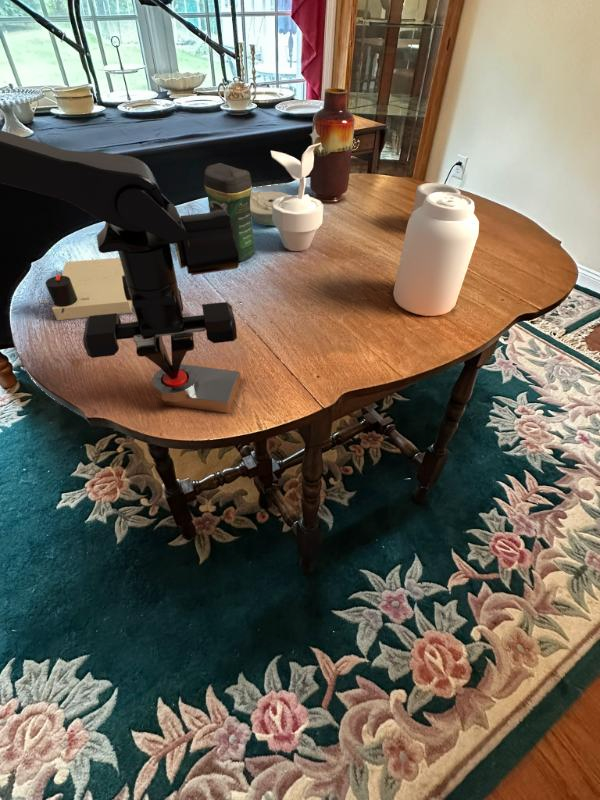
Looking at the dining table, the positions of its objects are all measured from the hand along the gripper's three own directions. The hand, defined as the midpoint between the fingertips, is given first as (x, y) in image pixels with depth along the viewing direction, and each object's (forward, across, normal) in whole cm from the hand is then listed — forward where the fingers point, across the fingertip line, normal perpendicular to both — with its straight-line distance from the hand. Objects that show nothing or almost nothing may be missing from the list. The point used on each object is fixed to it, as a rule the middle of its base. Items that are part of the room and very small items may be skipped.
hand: (174, 376), depth 63 cm
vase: (+4, -46, -76) cm, 90 cm away
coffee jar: (+4, -14, -46) cm, 48 cm away
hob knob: (+2, +19, -27) cm, 33 cm away
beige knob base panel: (+4, +15, -33) cm, 37 cm away
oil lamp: (+4, -24, -66) cm, 70 cm away
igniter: (+4, -4, 0) cm, 6 cm away
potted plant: (+4, -29, -48) cm, 56 cm away
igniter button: (+2, 0, 0) cm, 2 cm away
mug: (+4, -67, -52) cm, 85 cm away
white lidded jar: (+4, -49, -18) cm, 53 cm away
